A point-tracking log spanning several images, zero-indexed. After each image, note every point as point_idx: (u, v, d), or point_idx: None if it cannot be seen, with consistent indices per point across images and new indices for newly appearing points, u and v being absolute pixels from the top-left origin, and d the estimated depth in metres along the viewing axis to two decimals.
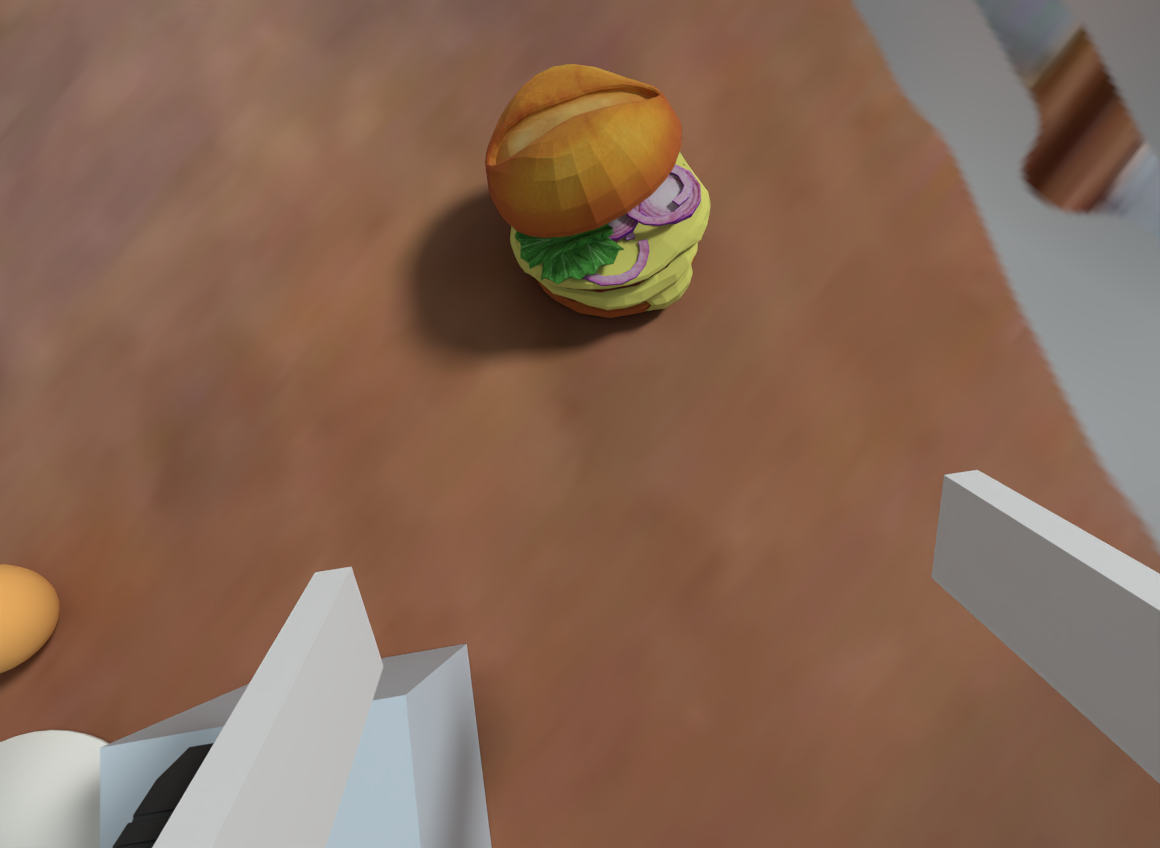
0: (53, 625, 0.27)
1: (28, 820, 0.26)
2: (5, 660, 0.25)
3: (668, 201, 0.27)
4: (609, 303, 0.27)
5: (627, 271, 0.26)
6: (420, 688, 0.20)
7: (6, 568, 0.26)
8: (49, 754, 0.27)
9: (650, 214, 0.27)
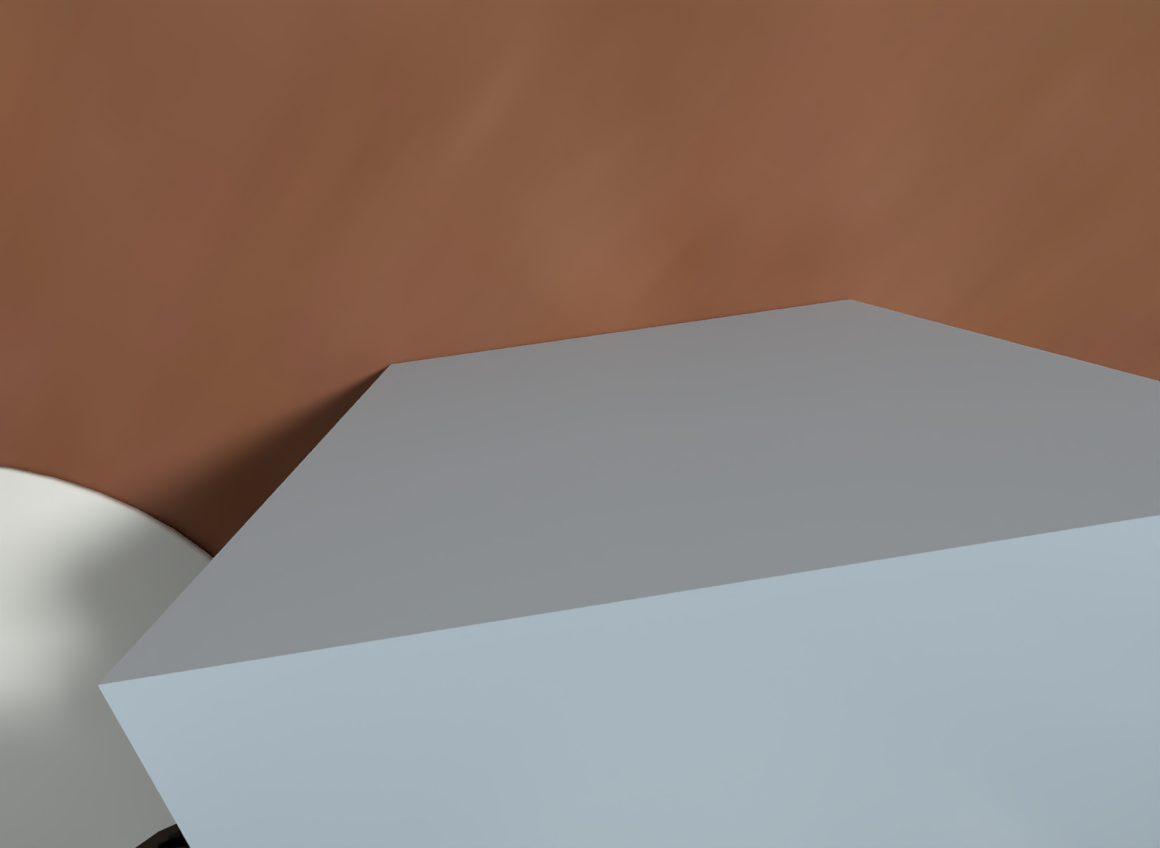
0: None
1: None
2: None
3: None
4: None
5: None
6: None
7: None
8: None
9: None
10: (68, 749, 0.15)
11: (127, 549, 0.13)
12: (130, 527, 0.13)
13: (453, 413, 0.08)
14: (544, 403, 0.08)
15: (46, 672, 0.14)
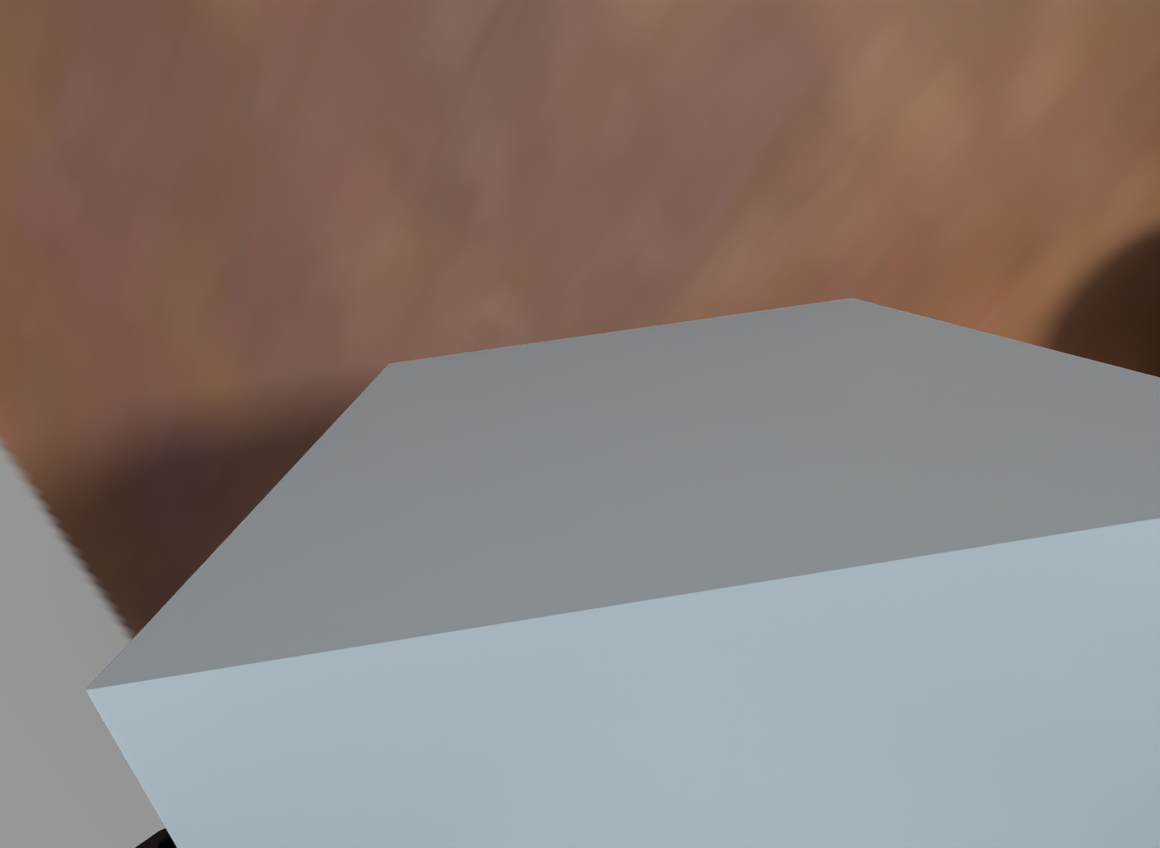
0: None
1: None
2: None
3: None
4: None
5: None
6: None
7: None
8: None
9: None
10: None
11: None
12: None
13: (452, 412, 0.08)
14: (543, 402, 0.08)
15: None
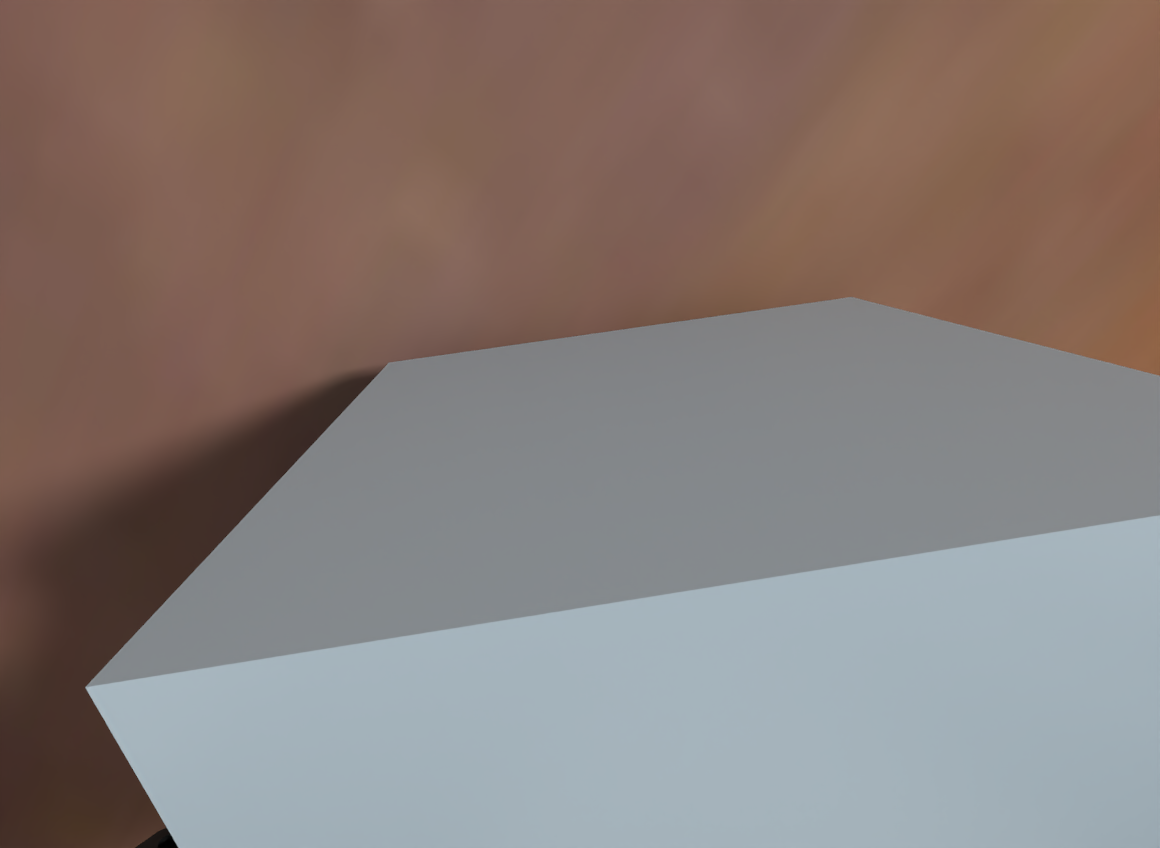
0: None
1: None
2: None
3: None
4: None
5: None
6: None
7: None
8: None
9: None
10: None
11: None
12: None
13: (452, 411, 0.08)
14: (543, 400, 0.08)
15: None
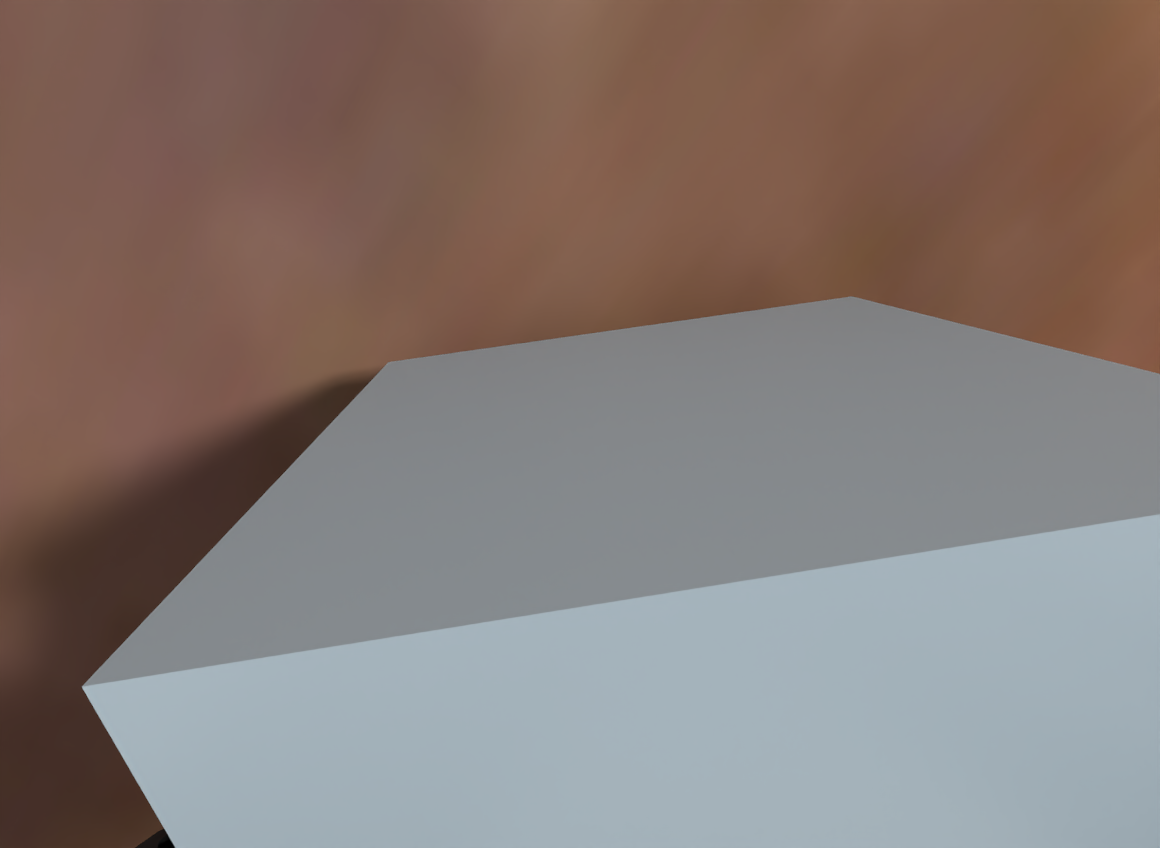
0: None
1: None
2: None
3: None
4: None
5: None
6: None
7: None
8: None
9: None
10: None
11: None
12: None
13: (451, 410, 0.08)
14: (543, 400, 0.08)
15: None
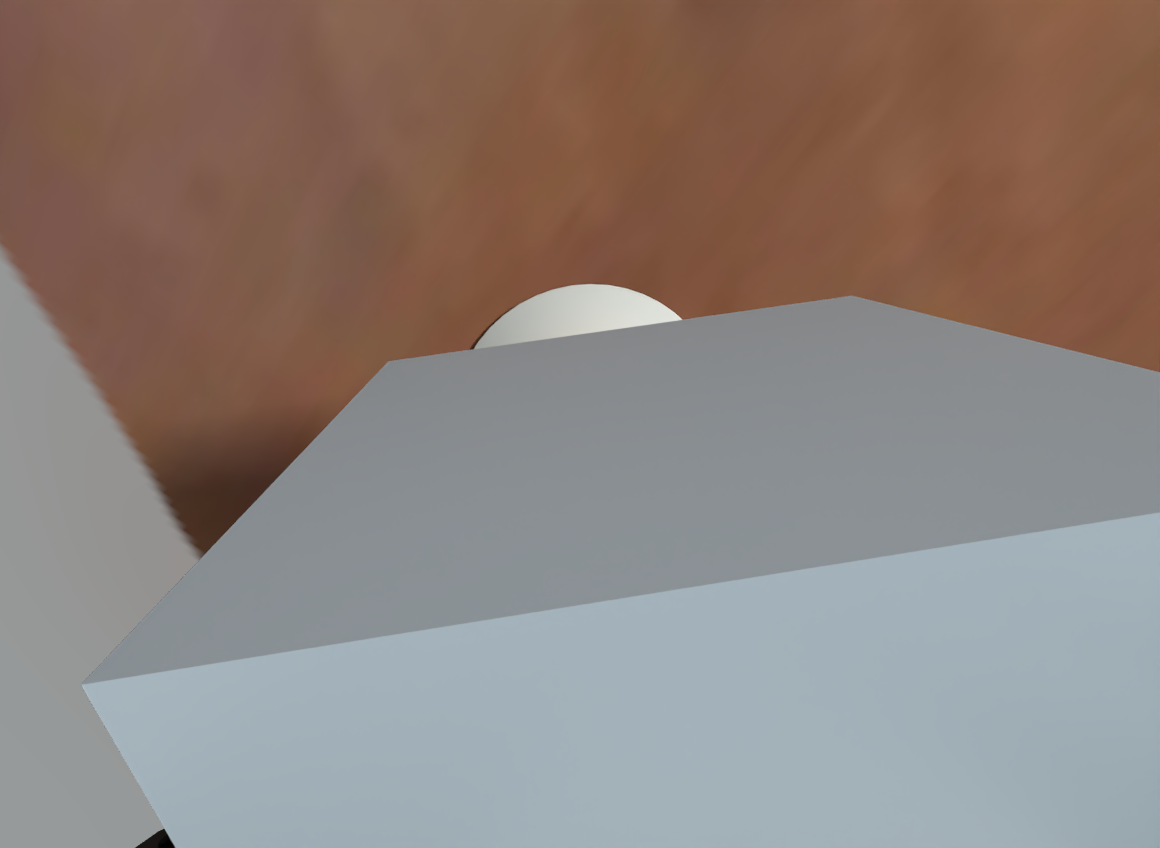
0: None
1: None
2: None
3: None
4: None
5: None
6: None
7: None
8: (593, 307, 0.25)
9: None
10: None
11: None
12: (671, 320, 0.26)
13: (451, 409, 0.08)
14: (543, 399, 0.08)
15: None
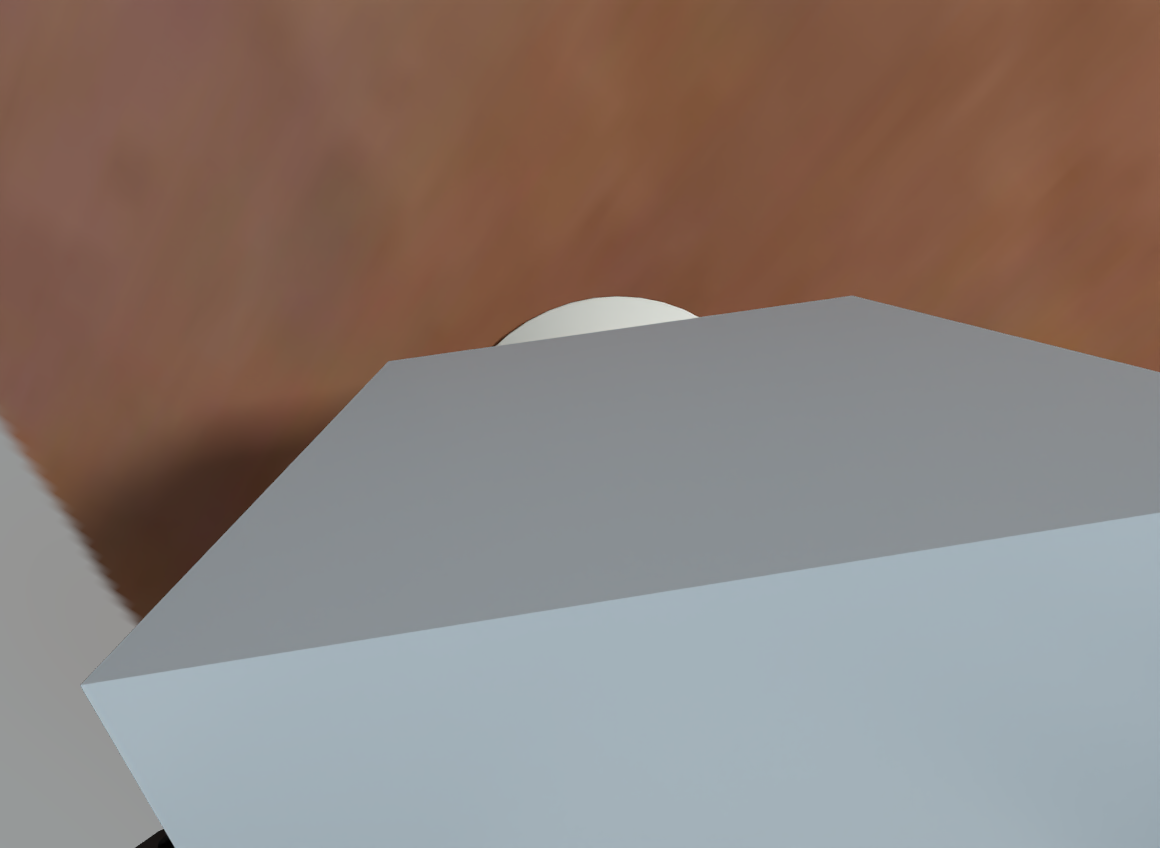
0: None
1: None
2: None
3: None
4: None
5: None
6: None
7: None
8: (621, 325, 0.20)
9: None
10: None
11: None
12: None
13: (451, 409, 0.08)
14: (543, 398, 0.08)
15: None
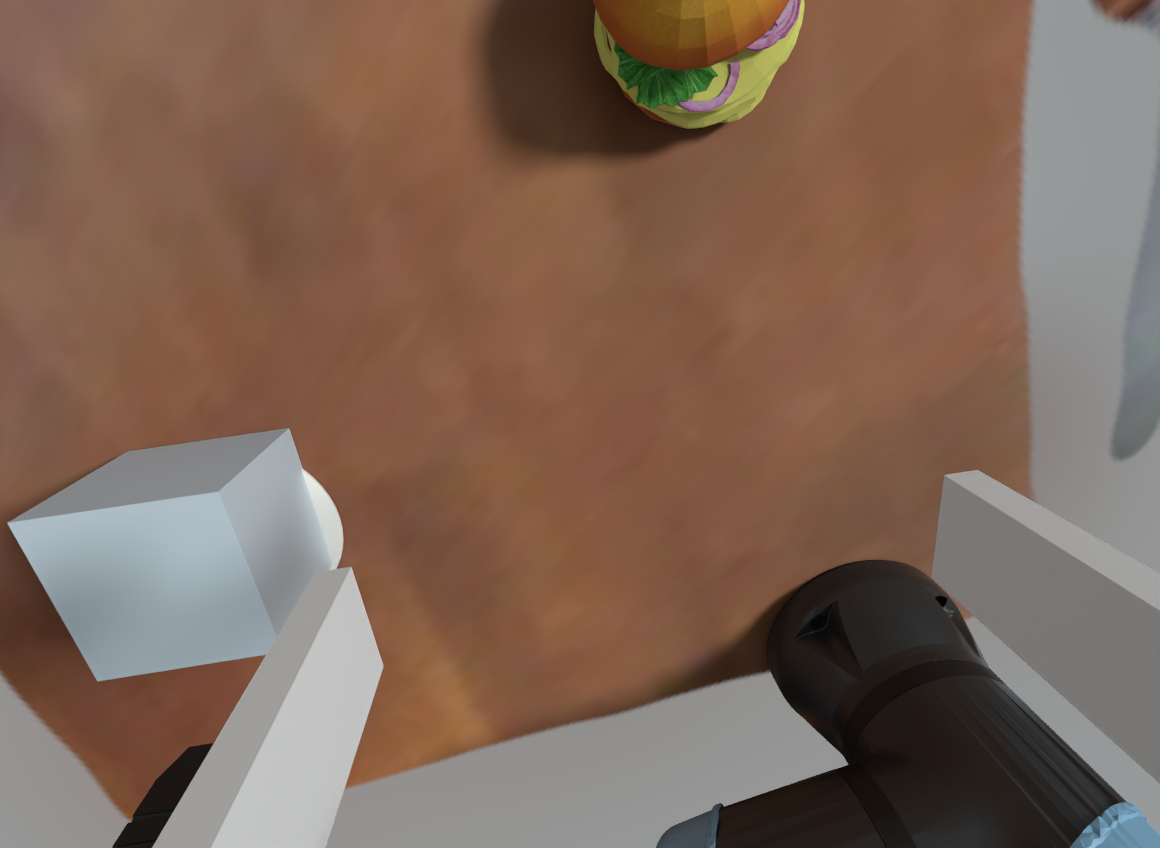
0: None
1: None
2: None
3: None
4: (690, 123, 0.29)
5: (715, 97, 0.28)
6: (234, 481, 0.29)
7: None
8: None
9: None
10: None
11: None
12: None
13: (113, 474, 0.32)
14: (136, 472, 0.32)
15: None
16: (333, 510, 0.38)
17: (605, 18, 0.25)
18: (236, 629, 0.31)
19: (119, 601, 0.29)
